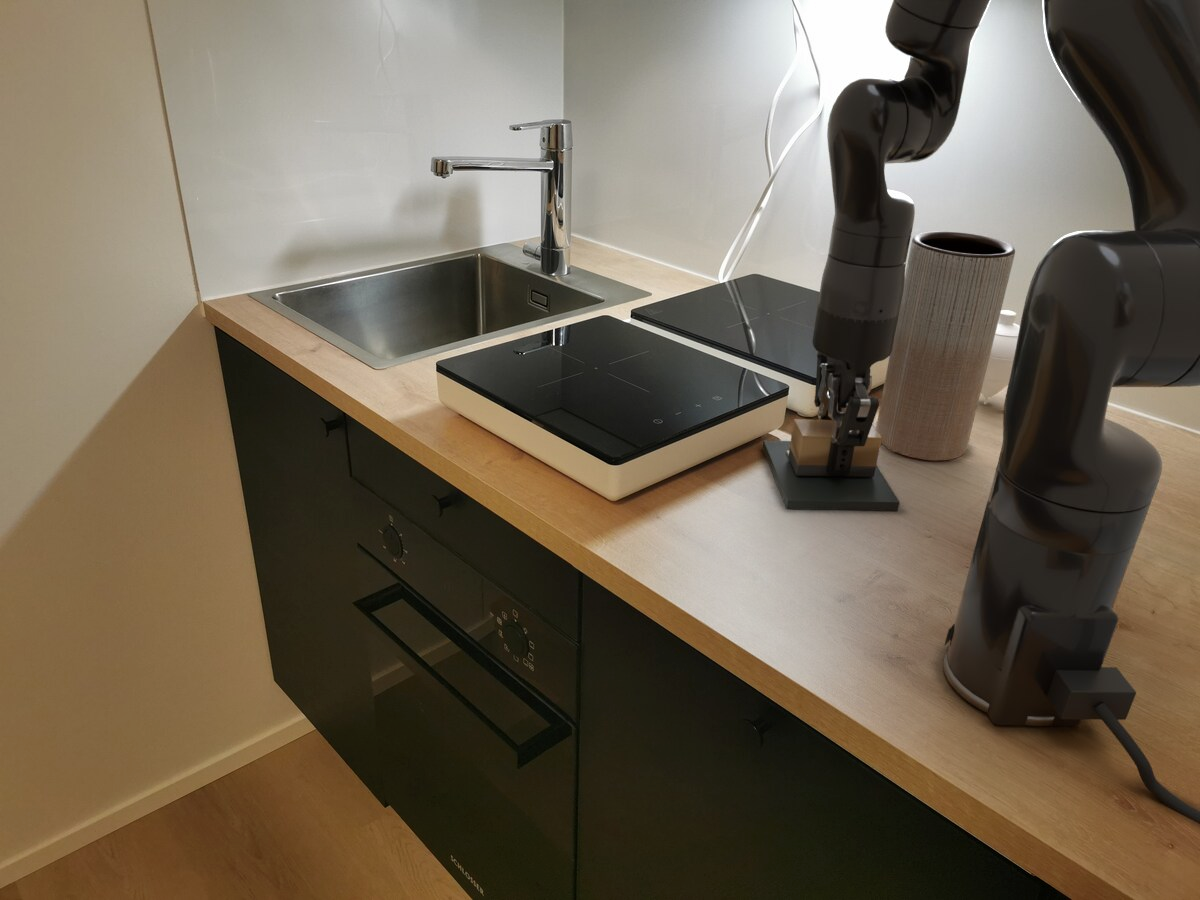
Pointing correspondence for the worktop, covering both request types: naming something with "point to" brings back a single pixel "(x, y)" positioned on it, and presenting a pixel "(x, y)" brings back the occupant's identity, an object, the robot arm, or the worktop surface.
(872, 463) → the eraser
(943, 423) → the planter
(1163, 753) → the worktop surface
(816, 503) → the slate board
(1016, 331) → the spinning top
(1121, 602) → the worktop surface
